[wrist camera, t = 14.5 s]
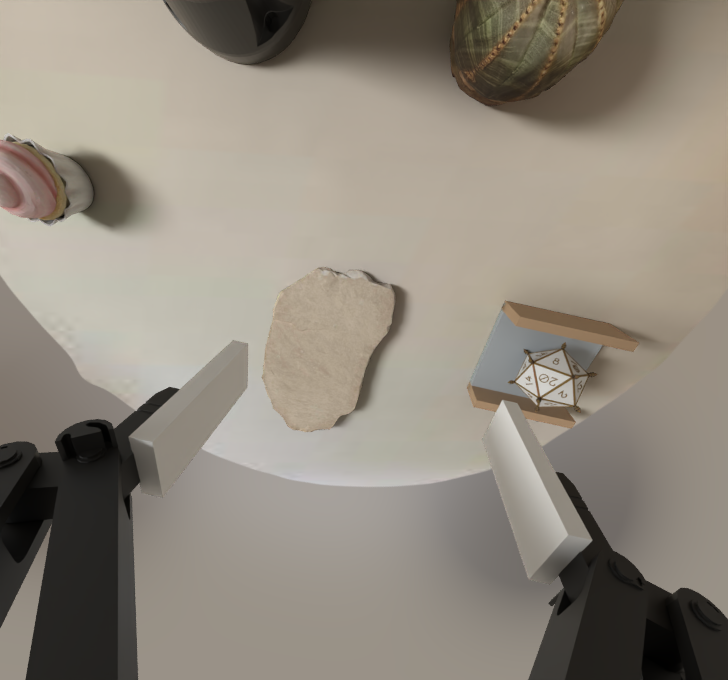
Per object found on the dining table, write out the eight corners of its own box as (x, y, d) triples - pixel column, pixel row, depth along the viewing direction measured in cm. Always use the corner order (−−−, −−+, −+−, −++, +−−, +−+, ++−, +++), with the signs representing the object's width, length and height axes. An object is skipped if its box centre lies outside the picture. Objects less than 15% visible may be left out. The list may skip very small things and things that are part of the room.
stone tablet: (408, 287, 41) (408, 292, 38) (339, 437, 54) (336, 447, 52) (291, 241, 40) (285, 243, 37) (251, 405, 53) (245, 414, 51)
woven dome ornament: (556, 106, 30) (642, 62, 20) (444, 124, 32) (466, 92, 21) (577, -52, 25) (705, -225, 15) (444, -22, 27) (473, -157, 16)
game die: (514, 357, 46) (487, 397, 40) (548, 317, 40) (521, 359, 34) (573, 394, 43) (551, 443, 37) (619, 357, 36) (602, 410, 31)
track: (505, 300, 40) (520, 316, 35) (609, 323, 39) (639, 342, 35) (467, 387, 46) (475, 411, 41) (556, 407, 46) (575, 433, 41)
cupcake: (58, 121, 35) (-56, 99, 27) (120, 196, 39) (37, 199, 30) (19, 168, 38) (-96, 163, 30) (80, 235, 42) (-7, 248, 33)
